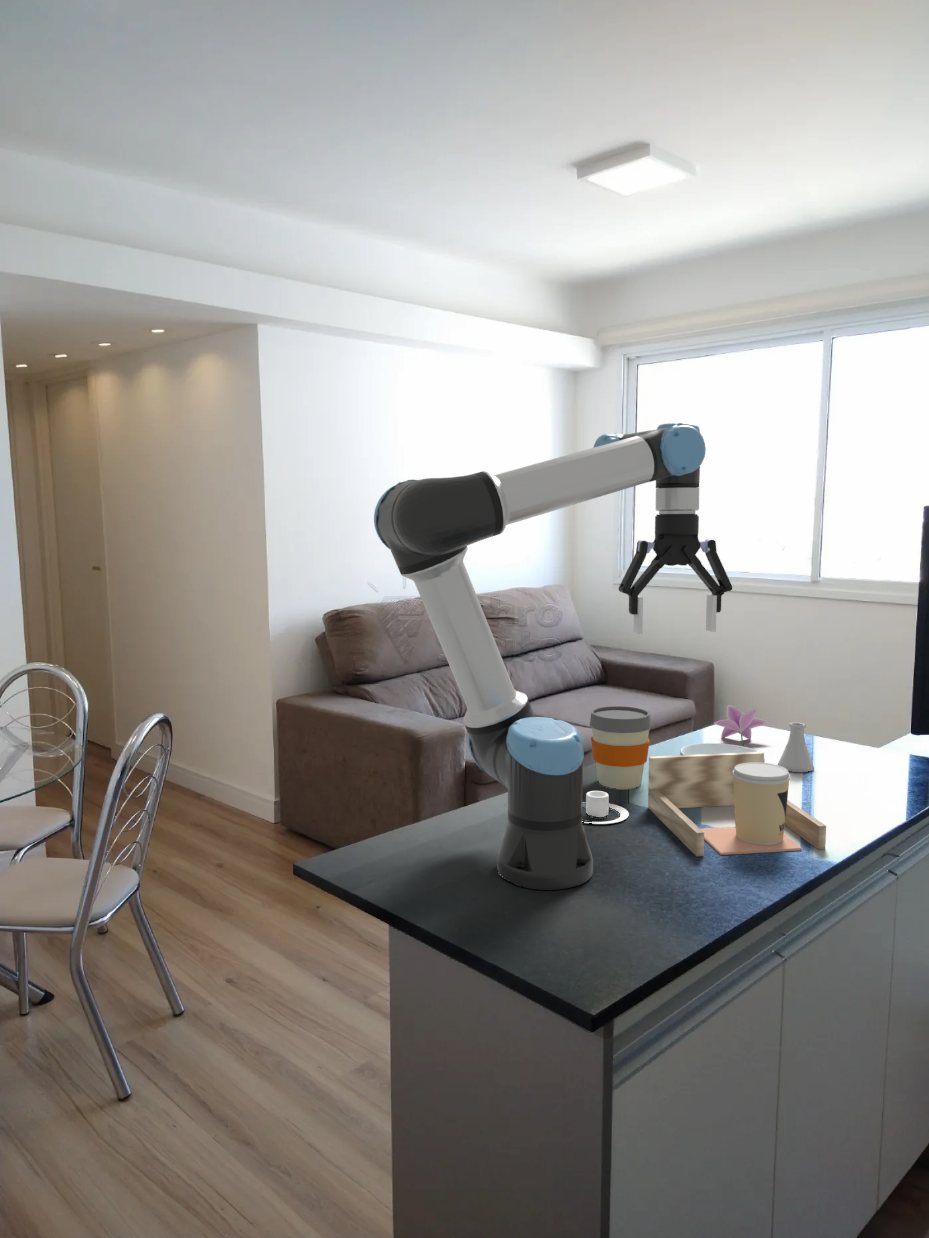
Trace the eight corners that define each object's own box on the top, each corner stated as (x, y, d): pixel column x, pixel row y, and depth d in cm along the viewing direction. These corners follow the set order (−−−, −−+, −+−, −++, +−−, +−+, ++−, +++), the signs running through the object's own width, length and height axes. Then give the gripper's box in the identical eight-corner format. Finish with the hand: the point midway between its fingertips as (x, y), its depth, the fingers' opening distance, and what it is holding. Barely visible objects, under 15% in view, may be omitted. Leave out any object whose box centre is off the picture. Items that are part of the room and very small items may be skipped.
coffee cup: (792, 848, 145) (795, 778, 143) (734, 845, 146) (735, 776, 145) (783, 829, 154) (785, 762, 152) (728, 826, 155) (729, 760, 154)
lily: (776, 748, 211) (769, 710, 215) (759, 738, 203) (753, 699, 206) (728, 756, 218) (722, 719, 222) (710, 748, 209) (704, 709, 213)
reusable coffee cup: (660, 789, 177) (661, 717, 176) (601, 794, 175) (602, 721, 173) (636, 771, 190) (637, 704, 188) (581, 775, 187) (581, 707, 185)
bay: (696, 856, 143) (697, 797, 142) (648, 807, 167) (648, 756, 166) (825, 848, 146) (827, 790, 144) (759, 801, 169) (761, 751, 168)
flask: (771, 765, 193) (772, 721, 192) (798, 762, 196) (799, 719, 194) (793, 774, 187) (794, 729, 185) (820, 771, 189) (822, 726, 188)
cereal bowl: (769, 801, 170) (771, 765, 169) (682, 796, 173) (682, 762, 172) (756, 775, 187) (758, 743, 186) (677, 771, 190) (677, 740, 189)
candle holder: (575, 830, 156) (575, 806, 156) (556, 808, 168) (556, 786, 168) (638, 825, 159) (639, 802, 158) (615, 803, 170) (615, 782, 170)
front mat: (721, 854, 143) (721, 852, 143) (695, 831, 154) (695, 828, 154) (801, 850, 145) (801, 847, 145) (770, 826, 156) (770, 824, 156)
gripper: (735, 512, 159) (732, 627, 162) (602, 513, 156) (601, 630, 159) (753, 512, 152) (750, 632, 154) (614, 513, 149) (613, 636, 152)
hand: (674, 631), depth 157 cm, fingers open, 13 cm apart
